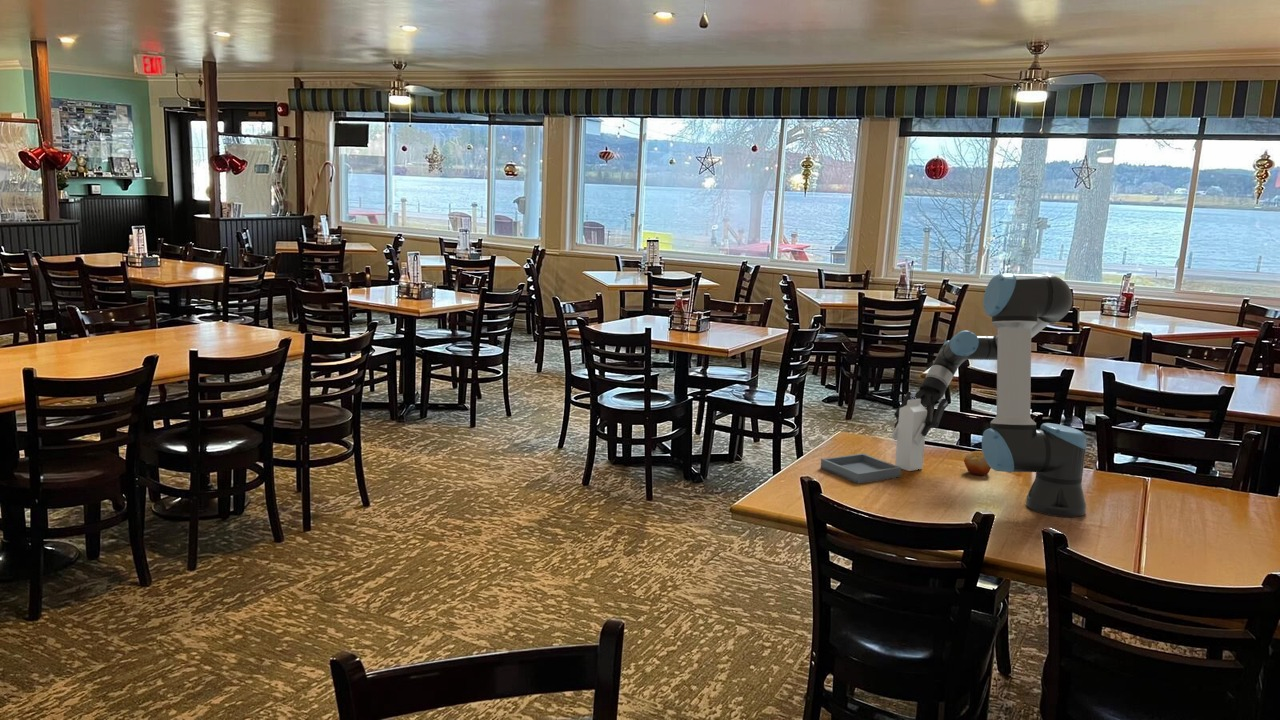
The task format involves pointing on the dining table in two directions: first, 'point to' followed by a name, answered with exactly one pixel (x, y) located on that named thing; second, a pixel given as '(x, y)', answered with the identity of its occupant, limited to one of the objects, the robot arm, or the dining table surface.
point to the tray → (860, 468)
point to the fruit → (976, 463)
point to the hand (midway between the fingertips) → (905, 440)
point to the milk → (910, 436)
